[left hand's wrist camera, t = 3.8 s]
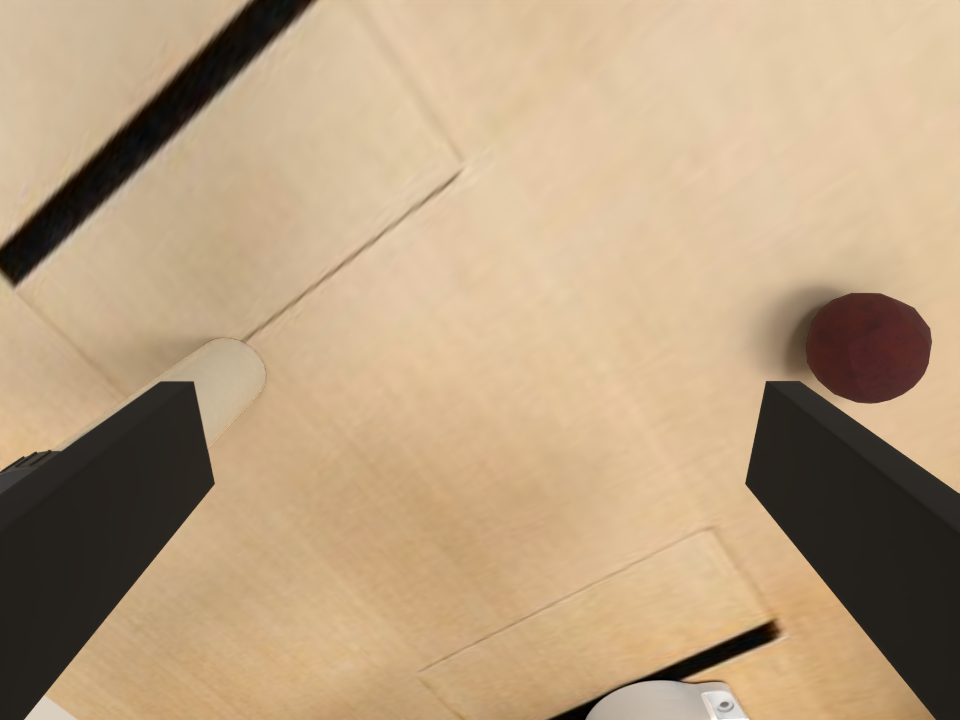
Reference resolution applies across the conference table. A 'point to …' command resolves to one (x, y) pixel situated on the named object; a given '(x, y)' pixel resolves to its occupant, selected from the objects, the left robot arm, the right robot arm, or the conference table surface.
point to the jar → (207, 386)
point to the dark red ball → (868, 347)
